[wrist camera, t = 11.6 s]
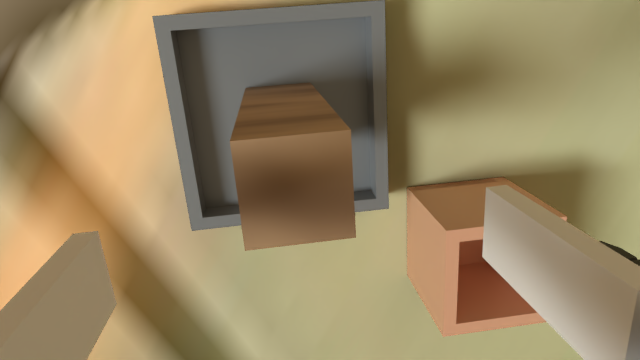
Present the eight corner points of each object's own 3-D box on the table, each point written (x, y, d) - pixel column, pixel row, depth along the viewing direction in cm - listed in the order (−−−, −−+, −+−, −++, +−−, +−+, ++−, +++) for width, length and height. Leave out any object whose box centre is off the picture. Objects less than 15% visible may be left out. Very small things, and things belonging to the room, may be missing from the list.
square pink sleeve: (496, 263, 43) (553, 321, 35) (407, 275, 42) (443, 336, 34) (503, 176, 40) (567, 216, 32) (406, 187, 39) (446, 230, 31)
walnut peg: (314, 144, 36) (355, 237, 20) (253, 150, 36) (245, 250, 20) (310, 82, 34) (350, 129, 18) (245, 87, 34) (229, 141, 18)
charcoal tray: (379, 195, 39) (388, 208, 36) (197, 215, 38) (191, 230, 35) (374, 2, 34) (384, 0, 31) (162, 17, 32) (152, 16, 30)
